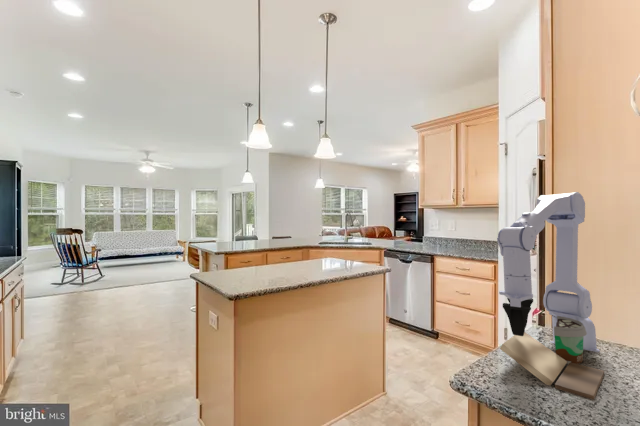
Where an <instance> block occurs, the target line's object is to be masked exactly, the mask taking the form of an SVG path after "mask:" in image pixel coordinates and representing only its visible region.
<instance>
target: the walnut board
mask: <svg viewBox="0 0 640 426" xmlns="http://www.w3.org/2000/svg"><path fill="white" fill-rule="evenodd" d="M560 374H561V375H560V376H559V377H558V379H557V380H556V382H555V383H554V389H557V390H560V391H564V392H566V393H570V394H573V395H577V396H580V397H582V398H587V399H590V400H593V401H595V398H596V396H597V393H598V391H599V389H600V386H601V384H602V381H603V380H604V376H605V370H602V369H599V368H595V367H591V366H587V365H584V364H583V365H582V364H580V363H579V364H575V363H571V362H570V363H569V364H567V366H566V367H565V368H564V370H563V372H562V373H560Z"/></svg>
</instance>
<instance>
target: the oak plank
mask: <svg viewBox="0 0 640 426" xmlns="http://www.w3.org/2000/svg"><path fill="white" fill-rule="evenodd" d="M499 350H501V351H502V352H503V353H505V355H507V356H509V358H511V359H513V361H515V362H516V363H518V364H519V365H520V366H522V367H523V368H524V369H525V370H527V371H528V372H530V374H532V375H533V376H535V377H536V378H537V379H538V380H540V381H541V382H542V383H543V384H545V385H547V386H552V384H553V383H554V382H555V380H556V379H557V378H558V376H559V375H560V374H561V372H562V371H563V369H565V368H564V367H565V366H566V365H567V364H566V363H567V361H566V360H564V359H563V358H561V357H560V356H559V355H557V354H556V352H555V351H553V350H551V349H550V348H549V347H548V346H545V345H544V344H543V343H541V342H540V341H538V339H535V338H534V337H533V336H531V335H530V334H528V333H527V332H524V335H523V336H518V335H513V336H512V337H509V338H508V339H507V340H506V341H505V342H504V343H502V344H501V346H499Z"/></svg>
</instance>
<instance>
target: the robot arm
mask: <svg viewBox="0 0 640 426" xmlns="http://www.w3.org/2000/svg"><path fill="white" fill-rule="evenodd" d="M585 218H586V201H585V199H584V197H583V195H582V194H581V193H580V192H579V191H574V192H567V193H566V192H565V193H556V194H546V195H545V194H541V195H539V197H537V198H536V206H535V207H534V209H533V210H532V211H531V212H530V211H526V212H525V211H524V212H523V213H522V214H521V215H520V217H519V218H518V219H517V220H515V221H514V222H513V223H512V224H511V225H510V226H506V227H505V226H504V227H503V228H502V229H500V230H499V231H498V233H497V237H496V240H497V241H496V242H497V245H498V246H499V253H500V255H501V256H502V257H503V259H502V261H503V262H502V263H503V285H504V290H499V293H498V294H499V295H502V296H504V297H506V300H507V301H508V303H507V302H503V303H502V309H503V310H504V312H505V313H506V316H507V317H508V321H509V325H510V329H511V333H512V335H513V336H514V335H518V336H523V335H524V332H525V331H526V328H527V325H528V324H527V323H528V318H529V313H530V311H531V310H532V307H531V306H532V304H533V303H534V294H533V291H532V290H533V288H532V287H533V285H532V267H531V265H532V264H531V250H532V249H533V248H534V247H535V243H536V240H537V236H538V235H539V233H540V232H542V231H543V230H544V228H545V227H546V226H545V225H546V222H547V223H548V224H551V225H553V226H555V228H556V239H555V240H556V243H555V248H556V249H555V280H554V281H553V282H551V283H548V284H547V285H546V286H545V292H544V294H543V297H542V298H543V299H542V303H543V307H544V308H545V310H546V312H548V314H549V315H550V316H551V322H552V338H553V339H552V340H553V341H550V343H553V344H554V345H555V335H554V326H555V327H556V323H557V316H561V317H567V318H571V319H574V320H577V321H579V322H581V323H583V326H584V327H585V329H586V332H587V335H585V336H583V351H585V350H586V351H588V352H589V351H590V352H594V353H599V352H600V351H601V350H600V349H599V348H597V333H596V326H595V324H594V322H593V321H592V319H591V318H590V316H591V315H592V313H593V304H592V300H591V294H590V293H591V292H590V291H589V290H588V289H587V288H585V287H584V286H583V285H582V284H580V283H579V282H578V260H579V258H578V253H579V252H578V251H579V250H578V246H579V245H578V244H579V242H578V241H579V225H581V224H582V223H584V222H585ZM561 291H562V292H561ZM567 292H568V293H567ZM569 292H570V293H569ZM525 333H526V332H525Z"/></svg>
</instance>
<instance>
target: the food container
mask: <svg viewBox="0 0 640 426" xmlns="http://www.w3.org/2000/svg"><path fill="white" fill-rule="evenodd" d="M554 335H555V344H554V348H555V353H556V354H557V355H559V356H560V357H561V358H563V359H564V360H566V361H567V363H566V365H568V364H569V363H570V362H571V363H575V364H579V365H580V364H582V363H583V361H584V359H583V358H584V350H583V336H585V335H587V332H586V329H585V327H584V326H583V323H581V322H579V321H577V320H574V319H571V318H567V317H561V316H557V323H556V327H555V326H554Z"/></svg>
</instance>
